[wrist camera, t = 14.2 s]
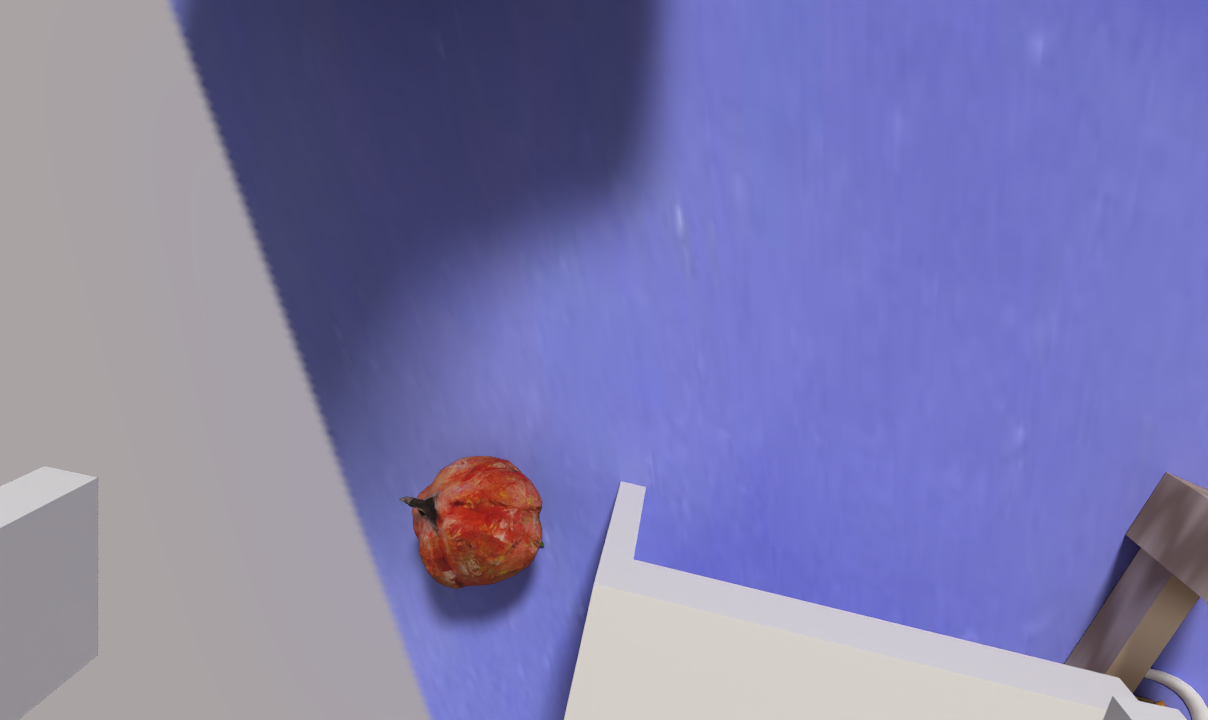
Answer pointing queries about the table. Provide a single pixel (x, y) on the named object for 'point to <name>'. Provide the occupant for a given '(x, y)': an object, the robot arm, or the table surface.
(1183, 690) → the hamburger
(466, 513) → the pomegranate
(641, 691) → the shelf
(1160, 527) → the block
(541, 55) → the table surface
